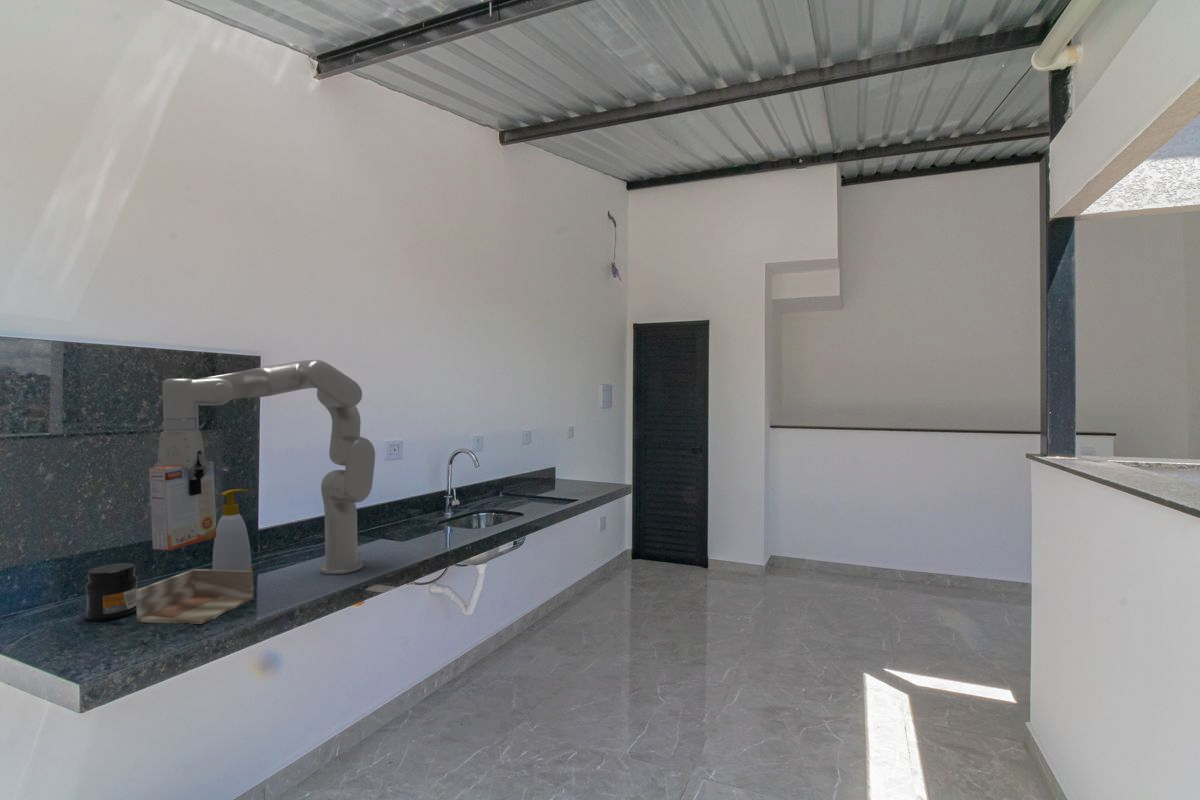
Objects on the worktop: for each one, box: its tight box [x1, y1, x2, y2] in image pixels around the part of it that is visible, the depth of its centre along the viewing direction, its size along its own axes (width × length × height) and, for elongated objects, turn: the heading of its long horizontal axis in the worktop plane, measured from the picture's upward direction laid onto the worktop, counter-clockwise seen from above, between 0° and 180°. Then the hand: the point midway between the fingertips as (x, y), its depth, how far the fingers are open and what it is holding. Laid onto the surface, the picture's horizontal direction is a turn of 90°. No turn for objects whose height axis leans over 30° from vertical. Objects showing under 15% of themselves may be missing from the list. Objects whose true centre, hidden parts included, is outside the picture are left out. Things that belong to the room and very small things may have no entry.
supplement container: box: [85, 562, 139, 622], centre depth 158 cm, size 10×10×12 cm
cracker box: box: [148, 461, 217, 552], centre depth 161 cm, size 14×6×21 cm, turn 164°
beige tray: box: [136, 568, 254, 625], centre depth 161 cm, size 18×18×8 cm
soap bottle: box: [212, 488, 254, 571], centre depth 193 cm, size 11×12×26 cm
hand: (183, 493), depth 161 cm, fingers closed on cracker box, 6 cm apart
